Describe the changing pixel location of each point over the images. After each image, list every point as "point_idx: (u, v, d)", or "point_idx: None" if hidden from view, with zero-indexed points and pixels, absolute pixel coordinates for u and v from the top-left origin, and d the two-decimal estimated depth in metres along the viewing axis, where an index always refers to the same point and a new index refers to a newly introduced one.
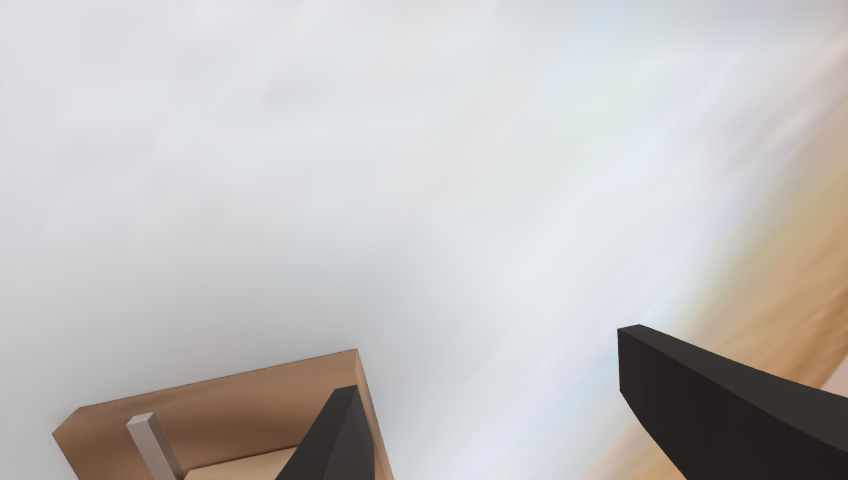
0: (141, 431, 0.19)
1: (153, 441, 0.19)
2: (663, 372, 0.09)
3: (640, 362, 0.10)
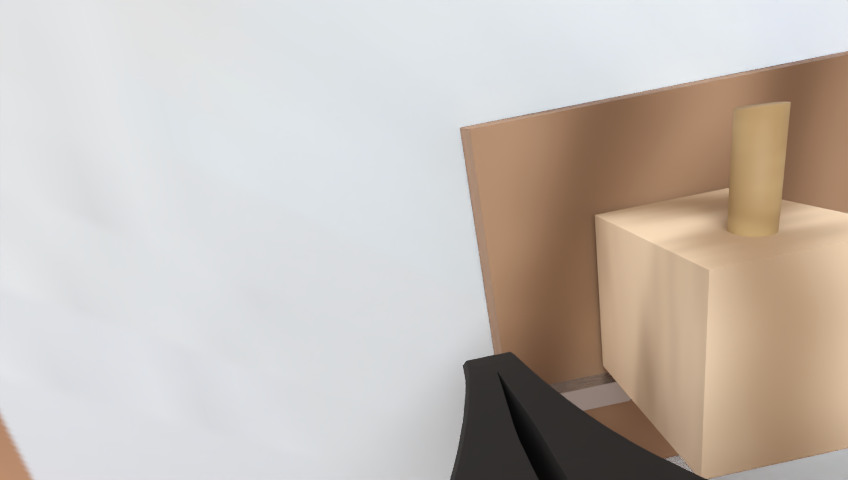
0: None
1: None
2: (511, 405, 0.09)
3: None
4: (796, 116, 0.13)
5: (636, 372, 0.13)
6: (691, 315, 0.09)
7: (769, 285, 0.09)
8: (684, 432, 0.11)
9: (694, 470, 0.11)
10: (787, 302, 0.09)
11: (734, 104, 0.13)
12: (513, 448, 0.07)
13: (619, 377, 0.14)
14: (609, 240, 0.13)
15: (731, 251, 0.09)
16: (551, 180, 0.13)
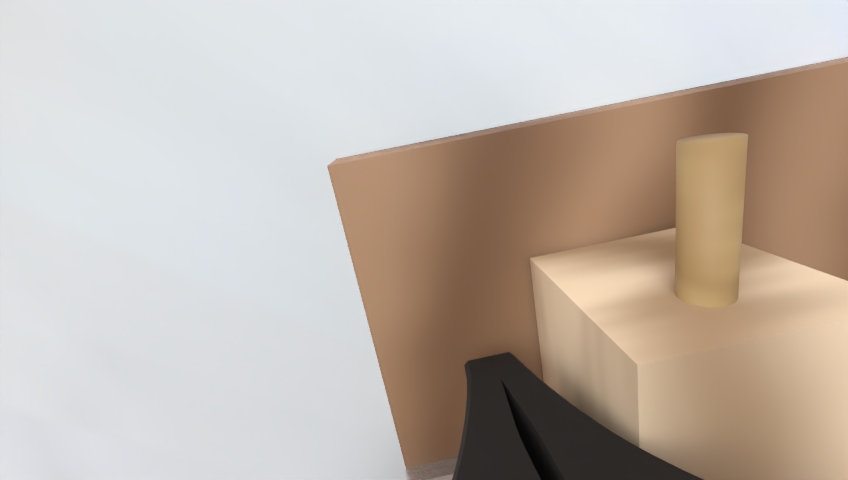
0: None
1: (445, 479, 0.13)
2: (509, 405, 0.09)
3: None
4: None
5: None
6: (623, 412, 0.07)
7: (721, 381, 0.07)
8: None
9: None
10: (746, 401, 0.07)
11: (655, 133, 0.10)
12: (515, 448, 0.07)
13: None
14: (543, 291, 0.10)
15: (673, 331, 0.07)
16: (436, 226, 0.11)
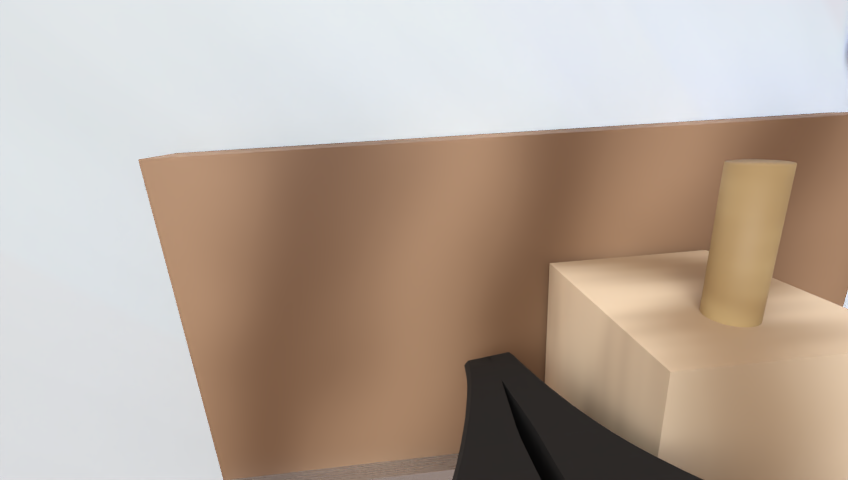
0: None
1: None
2: None
3: None
4: (566, 194, 0.11)
5: None
6: (643, 419, 0.07)
7: (745, 398, 0.07)
8: None
9: None
10: (764, 419, 0.07)
11: (487, 170, 0.10)
12: (515, 448, 0.07)
13: None
14: (561, 296, 0.10)
15: (702, 345, 0.07)
16: (257, 235, 0.10)
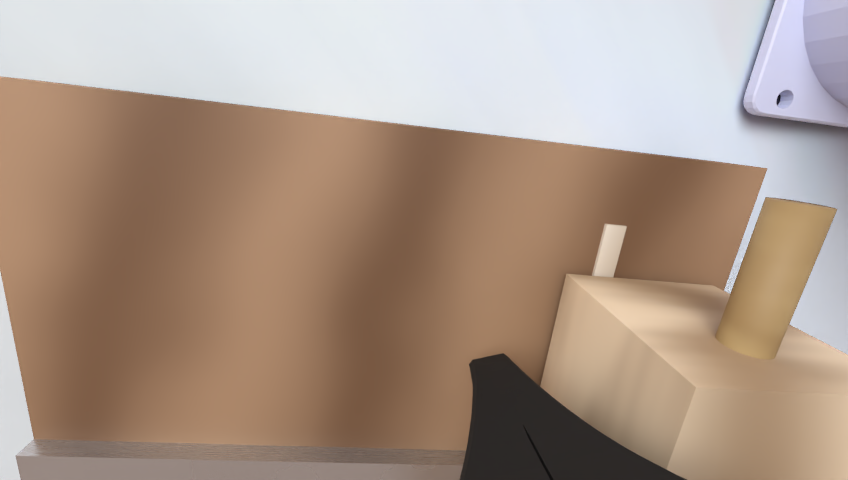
0: (38, 469, 0.11)
1: (63, 460, 0.11)
2: None
3: None
4: (431, 192, 0.10)
5: None
6: (654, 432, 0.07)
7: (757, 424, 0.07)
8: None
9: None
10: (771, 449, 0.07)
11: (349, 153, 0.10)
12: (522, 446, 0.07)
13: None
14: (575, 307, 0.11)
15: (722, 367, 0.07)
16: (91, 179, 0.10)
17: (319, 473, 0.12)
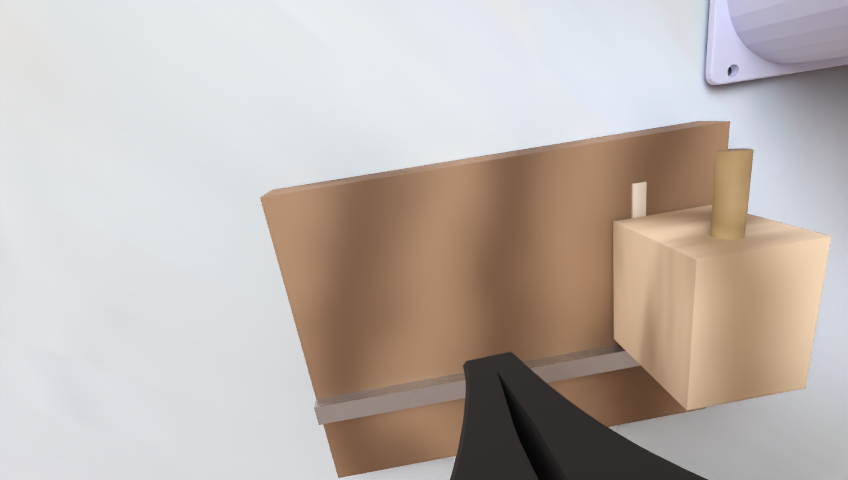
0: (327, 413, 0.19)
1: (340, 405, 0.19)
2: (510, 405, 0.09)
3: None
4: (520, 193, 0.17)
5: (641, 339, 0.17)
6: (684, 291, 0.14)
7: (736, 271, 0.13)
8: (676, 377, 0.15)
9: (682, 404, 0.15)
10: (748, 283, 0.13)
11: (468, 184, 0.17)
12: (513, 448, 0.07)
13: (627, 345, 0.18)
14: (624, 240, 0.17)
15: (712, 248, 0.13)
16: (330, 236, 0.17)
17: None
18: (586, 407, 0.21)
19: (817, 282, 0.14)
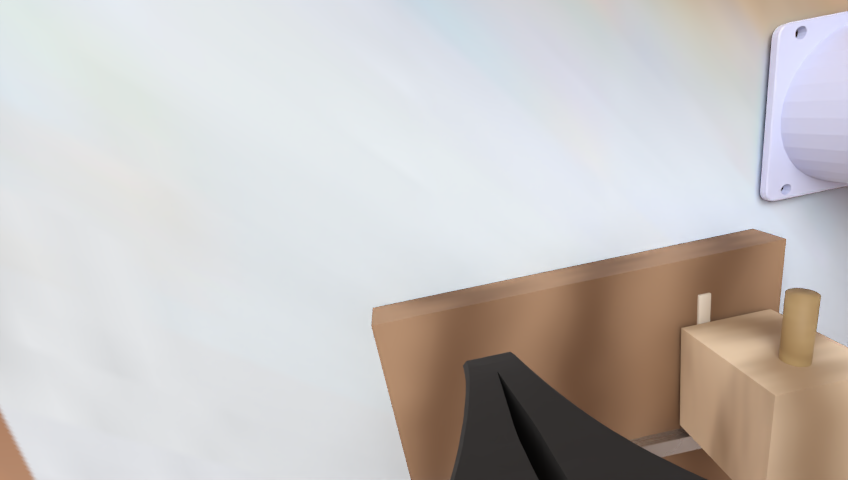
0: None
1: None
2: (511, 405, 0.09)
3: None
4: (598, 309, 0.19)
5: (712, 436, 0.19)
6: (761, 415, 0.16)
7: (808, 402, 0.15)
8: None
9: None
10: (819, 410, 0.15)
11: (553, 304, 0.19)
12: (513, 448, 0.07)
13: (695, 436, 0.20)
14: (693, 348, 0.19)
15: (785, 379, 0.15)
16: (431, 353, 0.19)
17: None
18: None
19: None
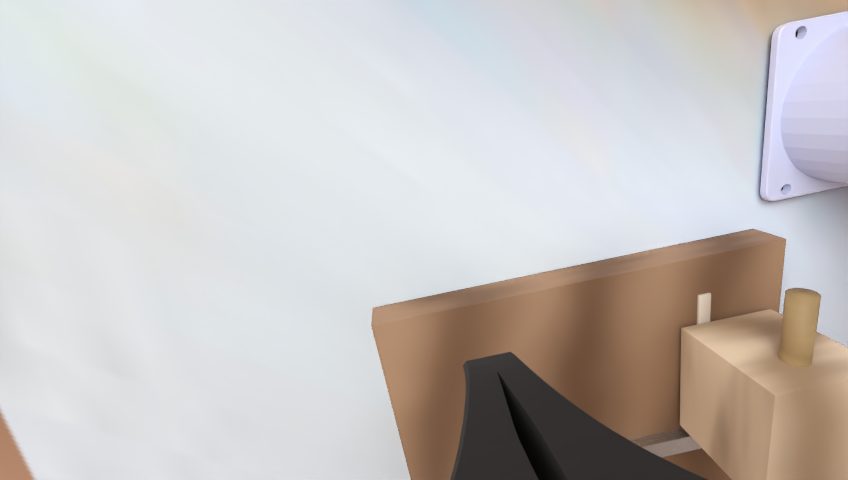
0: None
1: None
2: (511, 405, 0.09)
3: None
4: (598, 309, 0.19)
5: (712, 436, 0.19)
6: (761, 415, 0.16)
7: (808, 402, 0.15)
8: None
9: None
10: (819, 410, 0.15)
11: (553, 304, 0.19)
12: (513, 448, 0.07)
13: (695, 436, 0.20)
14: (693, 348, 0.19)
15: (785, 379, 0.15)
16: (431, 353, 0.19)
17: None
18: None
19: None
